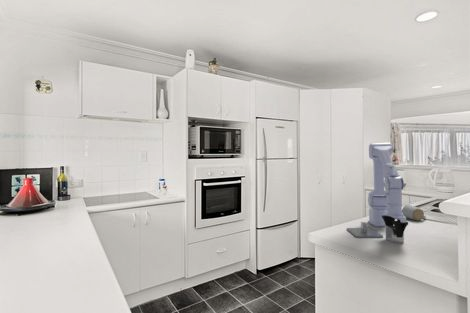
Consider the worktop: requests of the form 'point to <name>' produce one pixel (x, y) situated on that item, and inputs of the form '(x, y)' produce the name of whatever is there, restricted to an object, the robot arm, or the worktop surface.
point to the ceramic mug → (413, 212)
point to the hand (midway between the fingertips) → (394, 234)
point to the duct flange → (364, 232)
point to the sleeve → (393, 235)
